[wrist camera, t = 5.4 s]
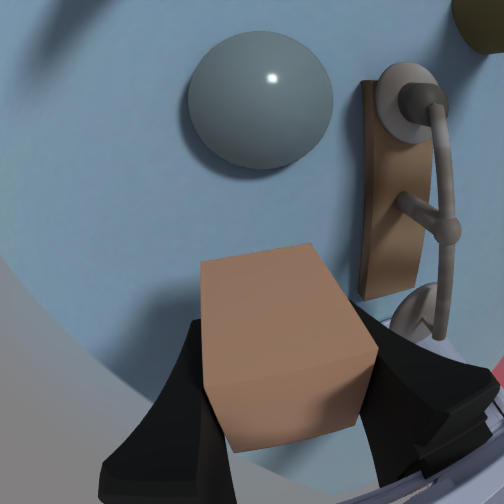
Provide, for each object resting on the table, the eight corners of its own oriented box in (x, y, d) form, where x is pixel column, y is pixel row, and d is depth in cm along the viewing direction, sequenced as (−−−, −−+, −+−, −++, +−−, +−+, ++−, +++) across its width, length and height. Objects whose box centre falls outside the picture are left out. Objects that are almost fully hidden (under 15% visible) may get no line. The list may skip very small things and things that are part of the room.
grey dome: (330, 158, 18) (336, 161, 17) (200, 175, 17) (200, 179, 16) (319, 34, 14) (325, 31, 13) (180, 44, 13) (179, 40, 12)
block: (310, 323, 14) (354, 425, 9) (220, 340, 14) (233, 453, 9) (310, 242, 12) (378, 347, 7) (200, 262, 12) (203, 386, 7)
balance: (405, 291, 24) (456, 354, 17) (355, 305, 24) (401, 379, 17) (421, 68, 15) (514, 74, 8) (358, 60, 15) (451, 51, 8)
